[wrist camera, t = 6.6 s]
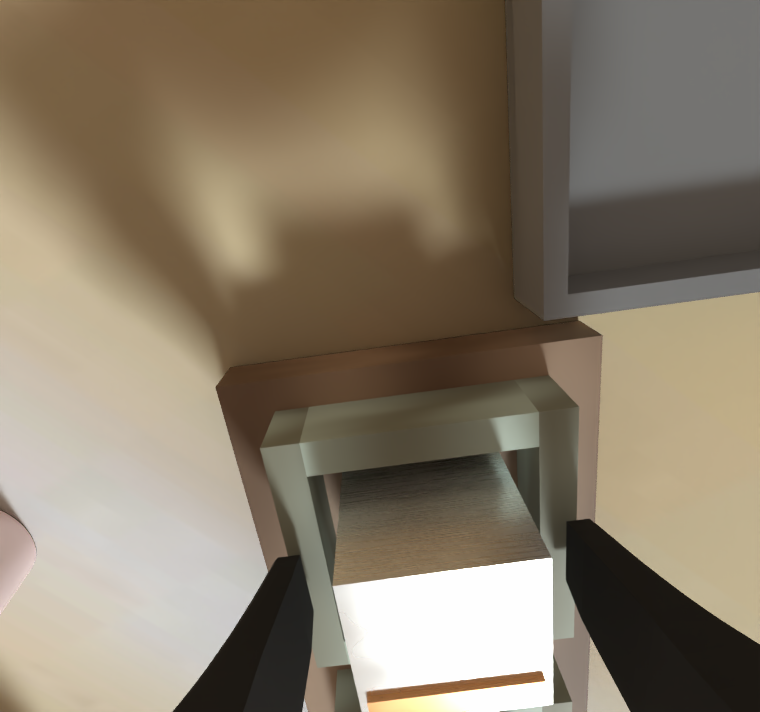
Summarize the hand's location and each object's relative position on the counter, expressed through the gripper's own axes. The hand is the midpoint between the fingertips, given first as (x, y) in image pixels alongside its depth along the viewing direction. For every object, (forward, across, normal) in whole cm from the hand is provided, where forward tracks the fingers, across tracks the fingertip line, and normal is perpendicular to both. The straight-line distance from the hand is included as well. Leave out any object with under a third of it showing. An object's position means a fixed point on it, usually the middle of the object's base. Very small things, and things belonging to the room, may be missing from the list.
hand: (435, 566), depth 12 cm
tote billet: (+2, 0, 0) cm, 3 cm away
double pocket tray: (+4, 0, +6) cm, 7 cm away
